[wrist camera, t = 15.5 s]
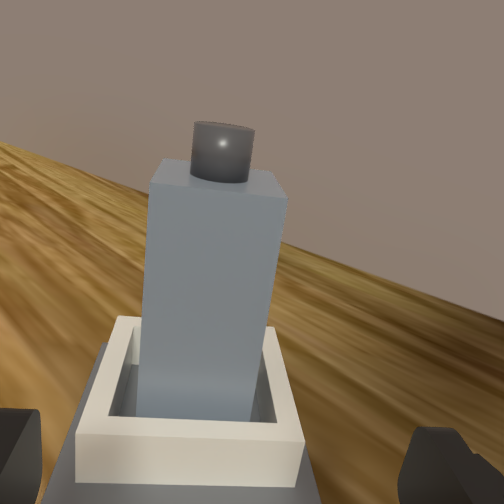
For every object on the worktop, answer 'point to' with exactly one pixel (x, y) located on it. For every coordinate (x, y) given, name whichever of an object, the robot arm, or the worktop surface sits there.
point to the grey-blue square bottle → (208, 278)
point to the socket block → (180, 442)
